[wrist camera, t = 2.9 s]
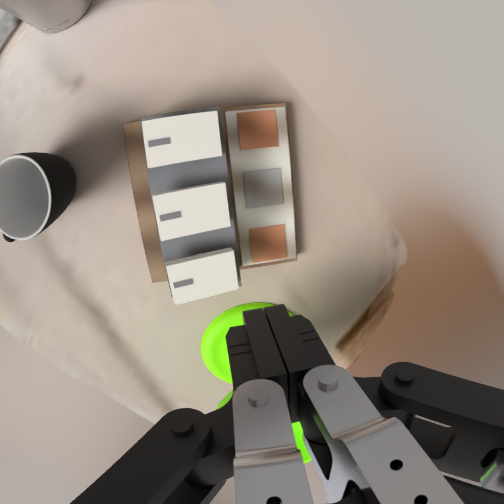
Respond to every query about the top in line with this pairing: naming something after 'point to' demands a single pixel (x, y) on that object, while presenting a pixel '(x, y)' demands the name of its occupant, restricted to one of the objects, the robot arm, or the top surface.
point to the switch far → (202, 275)
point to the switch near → (181, 138)
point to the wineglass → (219, 360)
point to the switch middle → (191, 210)
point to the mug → (33, 193)
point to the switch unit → (237, 187)
